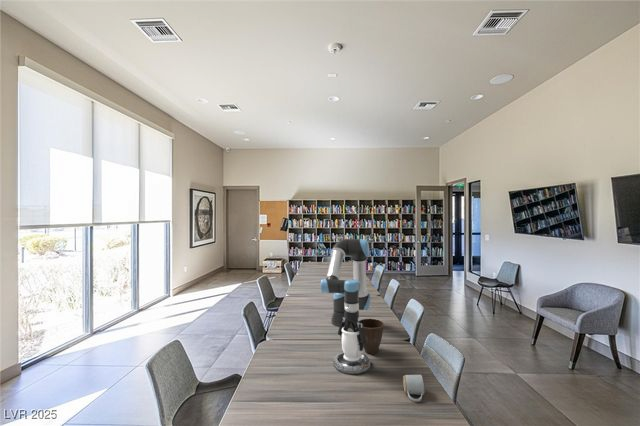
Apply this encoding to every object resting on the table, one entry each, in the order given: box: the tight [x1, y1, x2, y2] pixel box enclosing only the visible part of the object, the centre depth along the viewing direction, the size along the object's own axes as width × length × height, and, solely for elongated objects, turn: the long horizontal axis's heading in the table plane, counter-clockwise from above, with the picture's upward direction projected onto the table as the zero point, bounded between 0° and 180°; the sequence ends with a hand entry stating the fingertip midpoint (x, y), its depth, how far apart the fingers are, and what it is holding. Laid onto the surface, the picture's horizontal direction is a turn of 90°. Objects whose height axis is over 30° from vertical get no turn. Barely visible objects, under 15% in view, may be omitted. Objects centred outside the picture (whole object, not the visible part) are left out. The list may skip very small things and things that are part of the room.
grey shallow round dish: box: [333, 351, 371, 375], centre depth 153 cm, size 19×19×4 cm
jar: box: [341, 327, 360, 361], centre depth 153 cm, size 11×10×15 cm
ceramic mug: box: [402, 374, 425, 403], centre depth 127 cm, size 11×8×8 cm
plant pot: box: [358, 318, 385, 355], centre depth 169 cm, size 15×15×16 cm
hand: (351, 352), depth 153 cm, fingers closed on jar, 10 cm apart
